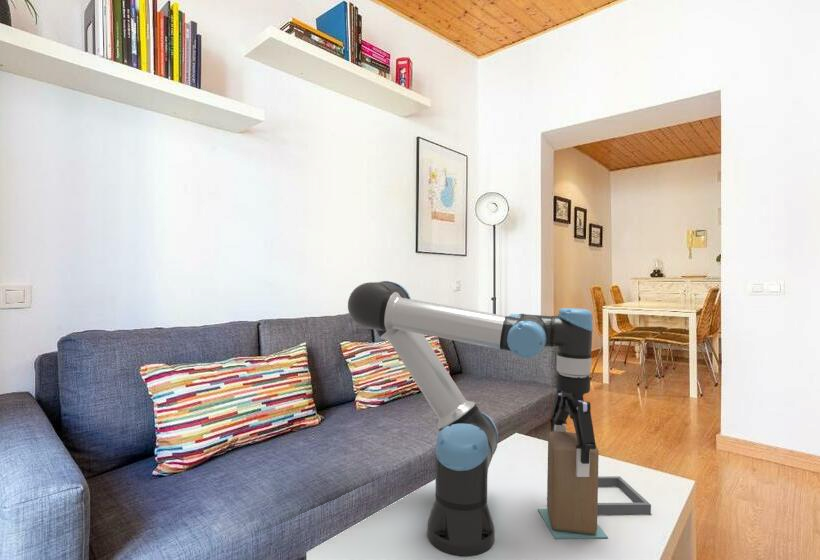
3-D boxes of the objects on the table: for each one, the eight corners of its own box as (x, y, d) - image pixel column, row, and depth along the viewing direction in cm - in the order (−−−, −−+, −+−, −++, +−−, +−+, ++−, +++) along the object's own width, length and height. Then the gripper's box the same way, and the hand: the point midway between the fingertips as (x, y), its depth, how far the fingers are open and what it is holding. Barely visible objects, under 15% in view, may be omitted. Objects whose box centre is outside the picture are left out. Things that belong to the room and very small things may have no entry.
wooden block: (588, 512, 109) (590, 432, 108) (598, 536, 99) (599, 448, 98) (546, 508, 111) (547, 429, 110) (551, 531, 101) (553, 444, 100)
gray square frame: (591, 515, 108) (591, 505, 108) (567, 485, 123) (567, 476, 123) (650, 514, 109) (650, 504, 109) (619, 485, 124) (619, 476, 124)
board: (555, 539, 98) (555, 537, 98) (537, 510, 110) (537, 508, 110) (607, 538, 99) (607, 536, 99) (584, 509, 111) (584, 508, 111)
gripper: (615, 388, 92) (611, 489, 92) (568, 362, 117) (565, 442, 117) (580, 387, 91) (576, 488, 92) (540, 362, 116) (537, 441, 117)
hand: (570, 462), depth 105 cm, fingers open, 13 cm apart
